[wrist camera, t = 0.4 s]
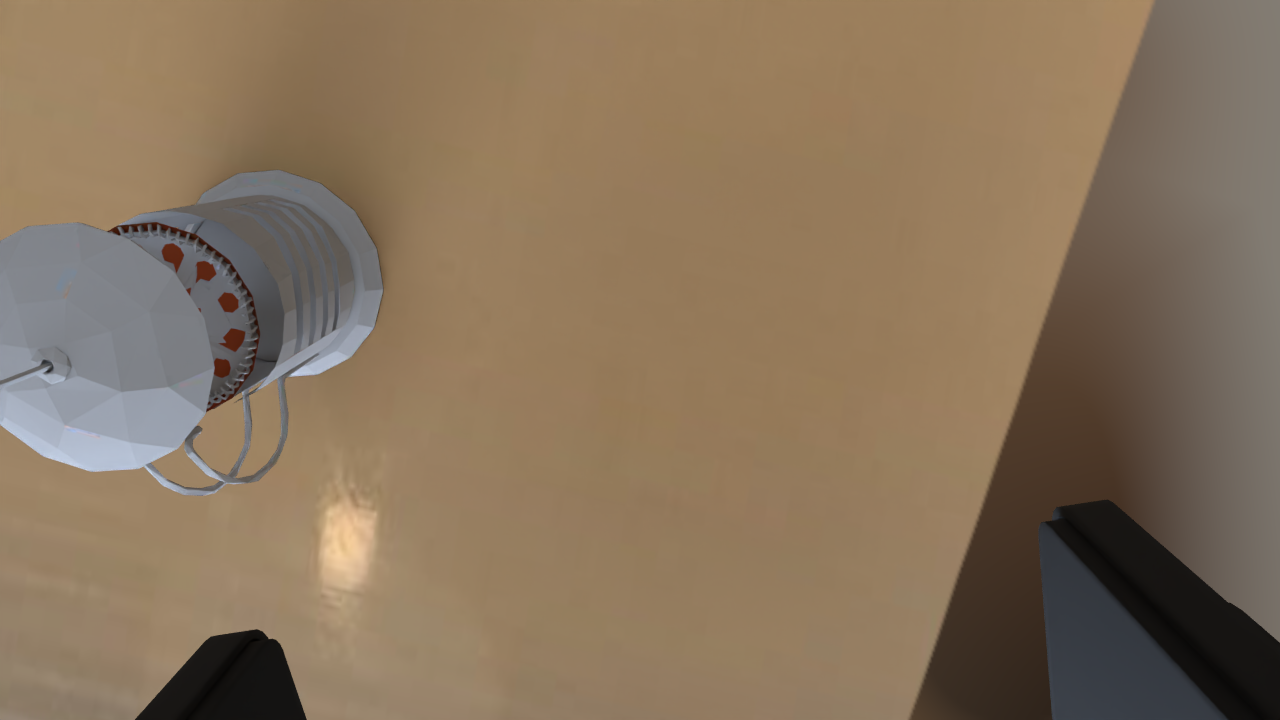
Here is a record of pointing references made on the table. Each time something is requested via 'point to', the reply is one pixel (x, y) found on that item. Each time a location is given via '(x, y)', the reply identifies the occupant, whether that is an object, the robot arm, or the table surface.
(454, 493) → the table surface
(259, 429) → the table surface
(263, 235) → the french press
